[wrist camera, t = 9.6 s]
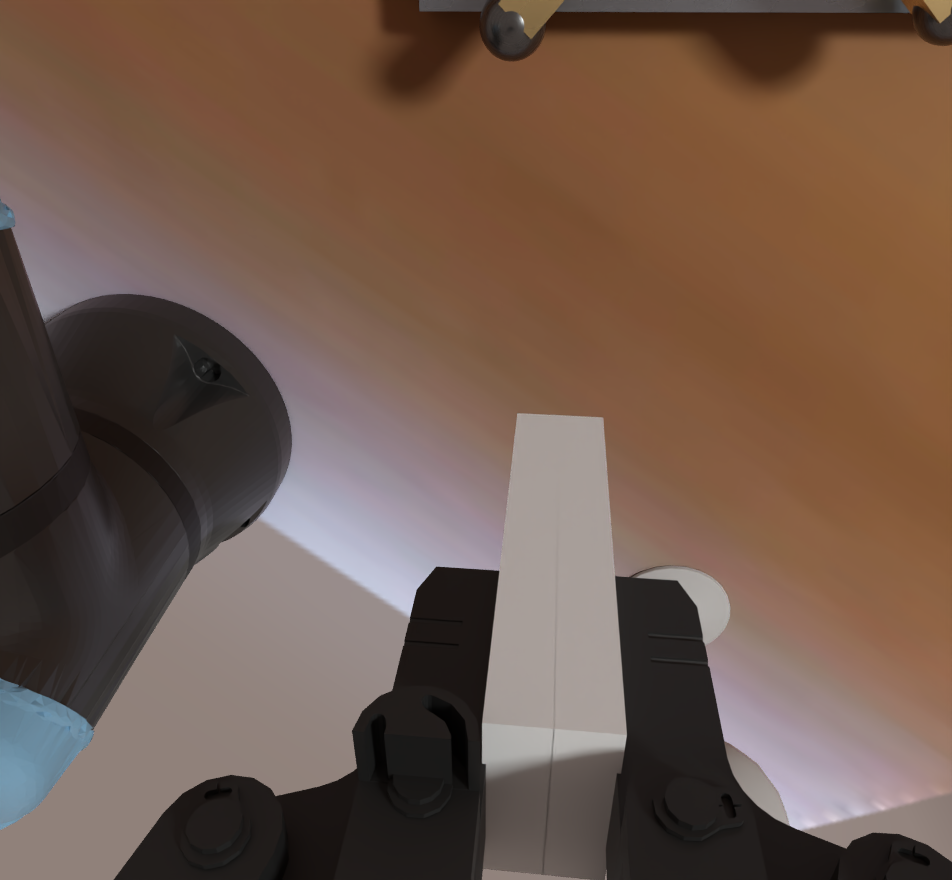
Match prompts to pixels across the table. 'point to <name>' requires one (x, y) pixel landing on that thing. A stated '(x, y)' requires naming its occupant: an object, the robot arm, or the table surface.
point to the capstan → (532, 3)
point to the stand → (694, 6)
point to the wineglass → (713, 622)
